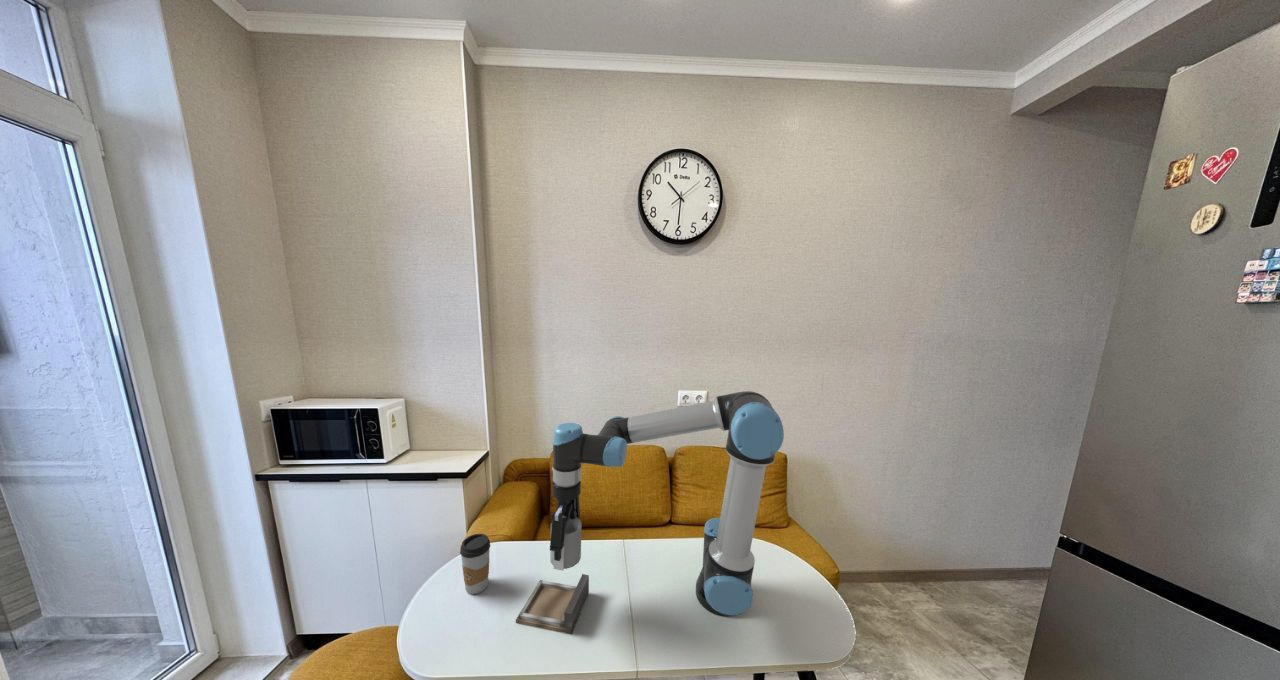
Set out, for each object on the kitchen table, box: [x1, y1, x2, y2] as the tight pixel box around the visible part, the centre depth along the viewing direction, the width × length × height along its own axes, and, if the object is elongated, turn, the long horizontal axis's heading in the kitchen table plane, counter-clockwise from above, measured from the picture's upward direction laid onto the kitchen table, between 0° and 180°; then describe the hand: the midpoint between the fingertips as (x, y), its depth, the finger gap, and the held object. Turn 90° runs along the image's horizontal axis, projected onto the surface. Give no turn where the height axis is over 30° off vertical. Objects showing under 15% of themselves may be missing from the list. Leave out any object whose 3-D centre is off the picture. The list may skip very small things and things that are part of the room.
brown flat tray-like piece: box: [515, 573, 590, 635], centre depth 108 cm, size 16×14×6 cm
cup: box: [549, 516, 583, 570], centre depth 105 cm, size 8×8×10 cm
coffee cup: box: [459, 533, 491, 595], centre depth 114 cm, size 8×8×15 cm
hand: (565, 557), depth 105 cm, fingers closed on cup, 8 cm apart
